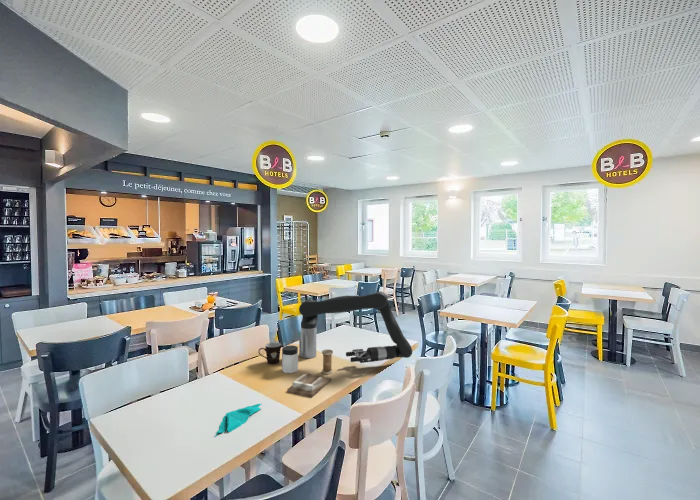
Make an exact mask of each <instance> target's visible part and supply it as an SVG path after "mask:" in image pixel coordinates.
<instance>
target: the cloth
mask: <svg viewBox="0 0 700 500" xmlns="http://www.w3.org/2000/svg"><path fill="white" fill-rule="evenodd" d="M261 405H262V403H256V404H254V405H248V406H246V407H242V408H238V409H235V410H232V411H228V412H226V413H225V415H224V416H223V417H222V420H221V422H220V424H219V427H218V430H216V434H215V435H214V437H215V438H217V435H218V434H224V433H225V432H228V433H229V432H230V433H231V432H232V431H234V430H236V429H238V428H241V426H242V425H244V424H246V422H248V420H249V417H250V416H252V415H253V414H255V413H256V412H259V411H261V410H262V408H261V407H260V406H261Z"/></svg>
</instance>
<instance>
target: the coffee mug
mask: <svg viewBox="0 0 700 500" xmlns="http://www.w3.org/2000/svg"><path fill="white" fill-rule="evenodd" d="M264 346H265V348H264V347H261V348H259V349H258V355H260V356H261V357H262V358H264V359H266V363H267V364H268V365H277V364H279V363H280V357H281V351H282V349H281V348H282V343H281V342H268V343H266V344H265V345H264ZM261 350H264V351H265V353H266V354H265V355H266V356H264V355H263V354H261V353H260V351H261Z"/></svg>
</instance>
